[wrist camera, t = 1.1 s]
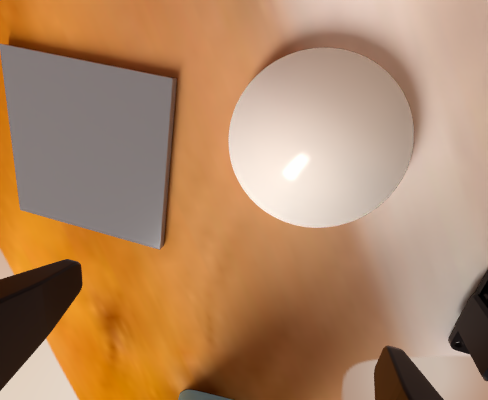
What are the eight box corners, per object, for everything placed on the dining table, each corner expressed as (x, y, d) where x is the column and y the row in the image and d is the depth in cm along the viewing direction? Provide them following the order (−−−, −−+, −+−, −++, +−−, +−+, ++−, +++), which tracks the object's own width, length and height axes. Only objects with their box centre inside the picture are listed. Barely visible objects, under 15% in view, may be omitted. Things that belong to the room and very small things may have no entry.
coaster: (176, 78, 19) (172, 78, 19) (163, 245, 24) (159, 249, 24) (7, 44, 21) (-1, 43, 21) (26, 206, 26) (20, 209, 25)
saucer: (436, 67, 17) (447, 67, 15) (372, 233, 20) (376, 245, 19) (250, 35, 18) (244, 32, 17) (224, 196, 22) (217, 205, 20)
